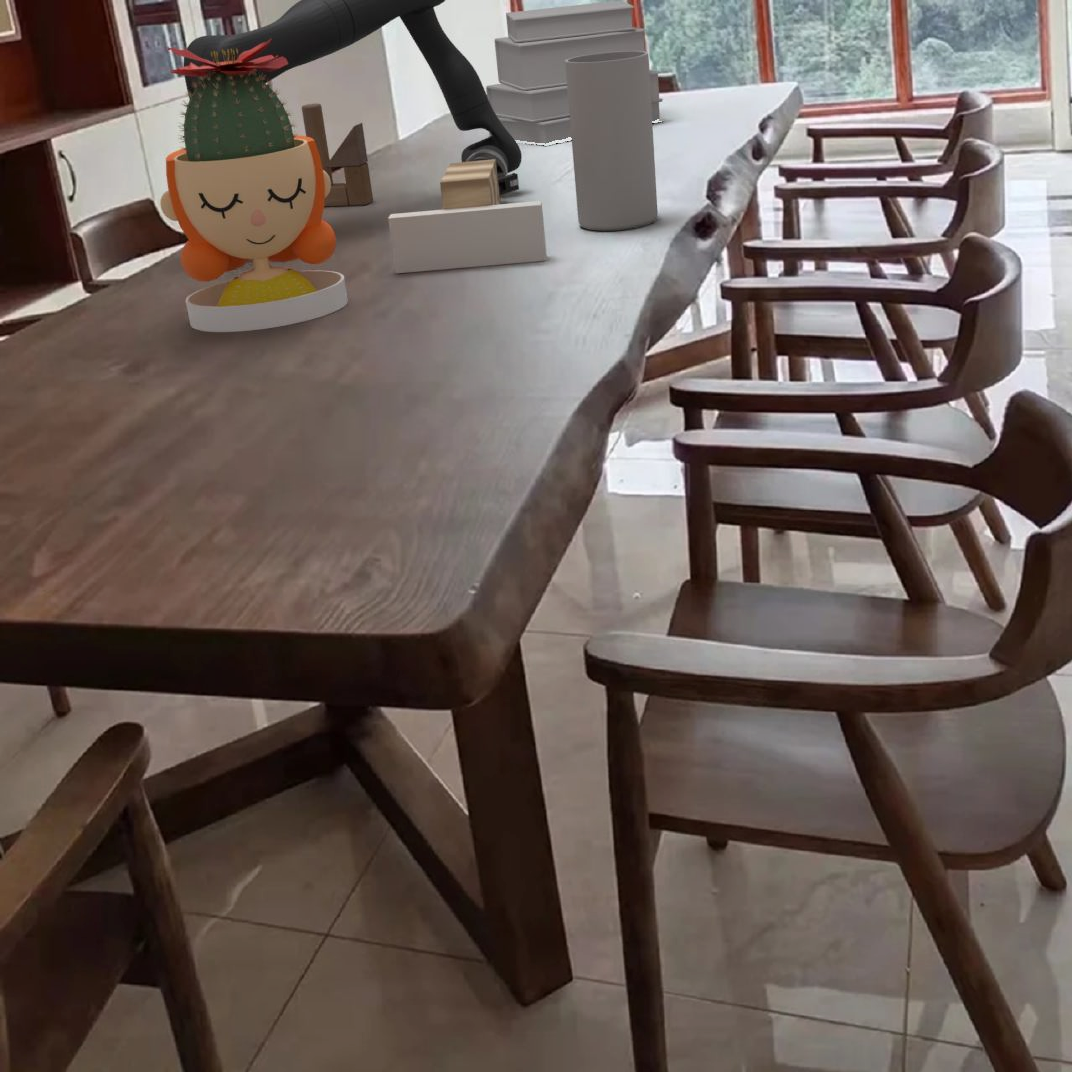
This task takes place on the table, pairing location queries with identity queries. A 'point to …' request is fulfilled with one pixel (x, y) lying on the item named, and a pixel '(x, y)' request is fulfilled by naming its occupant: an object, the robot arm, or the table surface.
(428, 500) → the table surface
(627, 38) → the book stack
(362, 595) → the table surface
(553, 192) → the table surface
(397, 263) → the board
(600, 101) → the cylinder vase
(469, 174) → the maple block
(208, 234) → the potted cactus
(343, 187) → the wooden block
